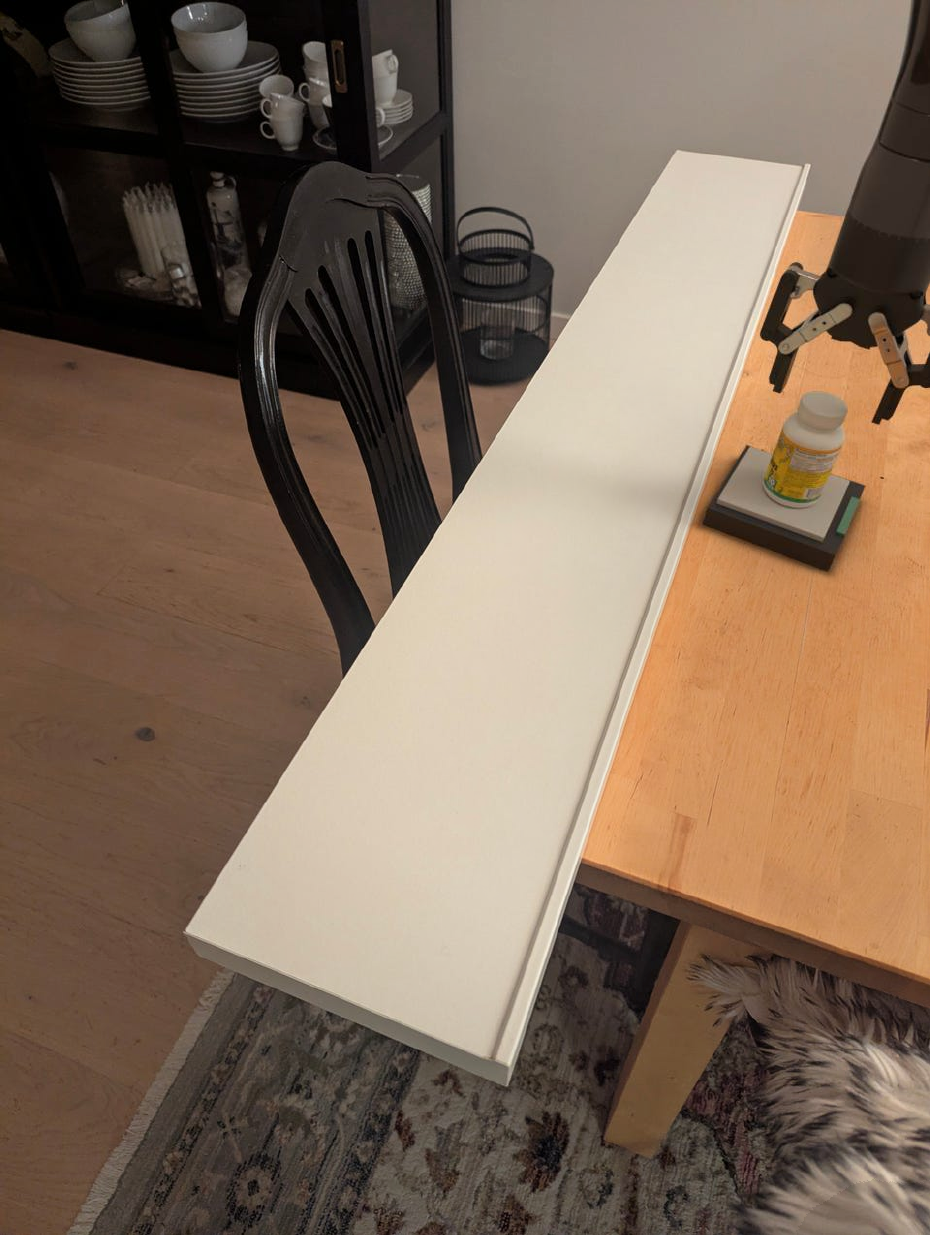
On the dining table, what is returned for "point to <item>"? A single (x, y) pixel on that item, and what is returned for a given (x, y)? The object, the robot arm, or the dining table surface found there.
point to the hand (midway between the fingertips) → (827, 404)
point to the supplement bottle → (806, 450)
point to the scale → (783, 513)
